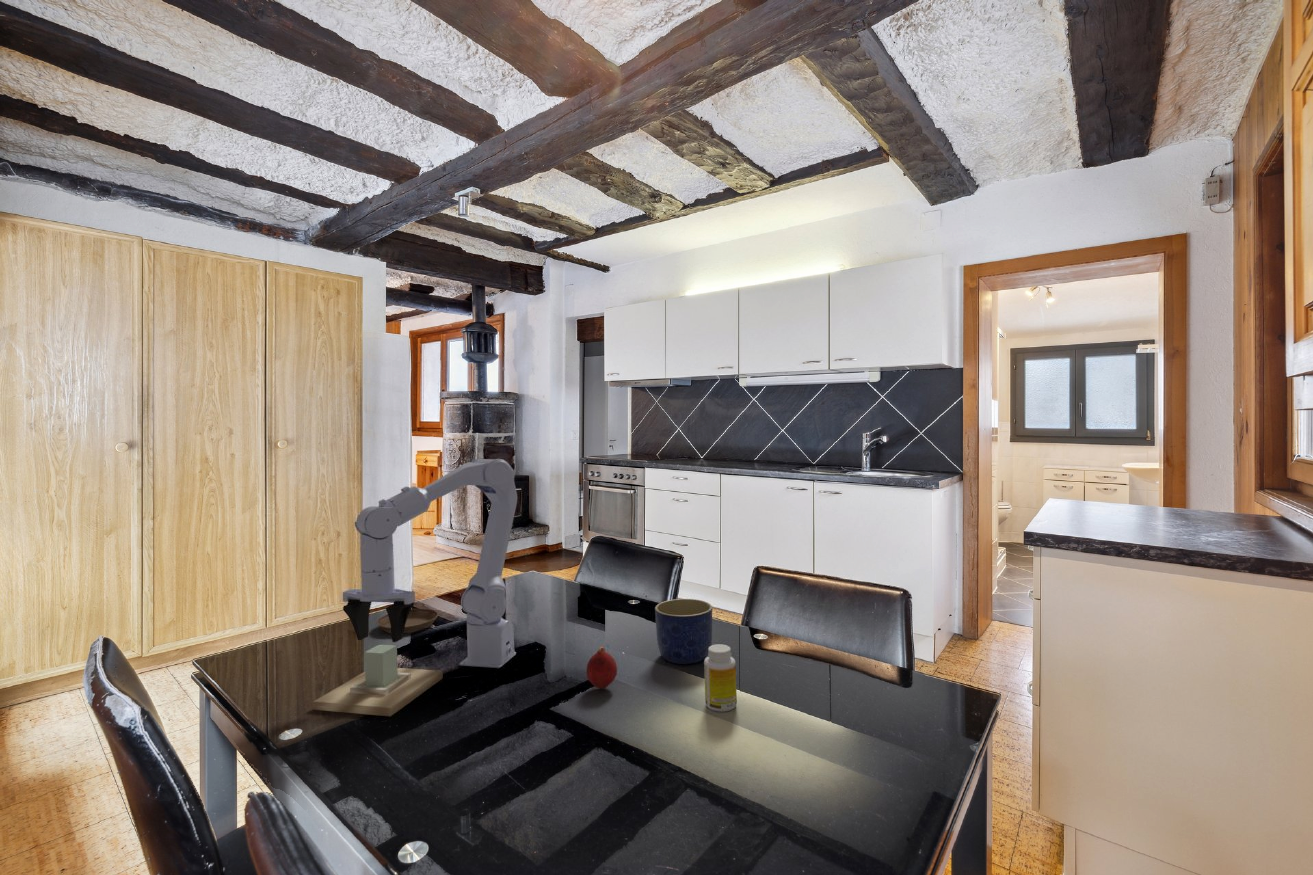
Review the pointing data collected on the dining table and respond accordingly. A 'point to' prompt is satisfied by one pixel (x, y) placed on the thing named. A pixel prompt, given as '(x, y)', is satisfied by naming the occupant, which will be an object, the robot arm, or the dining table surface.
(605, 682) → the onion
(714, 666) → the supplement bottle
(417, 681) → the display plinth
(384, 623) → the saucer
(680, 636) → the planter
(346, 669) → the dining table surface
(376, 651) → the sage block
